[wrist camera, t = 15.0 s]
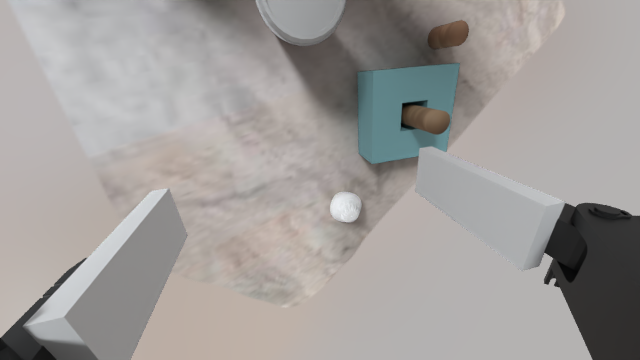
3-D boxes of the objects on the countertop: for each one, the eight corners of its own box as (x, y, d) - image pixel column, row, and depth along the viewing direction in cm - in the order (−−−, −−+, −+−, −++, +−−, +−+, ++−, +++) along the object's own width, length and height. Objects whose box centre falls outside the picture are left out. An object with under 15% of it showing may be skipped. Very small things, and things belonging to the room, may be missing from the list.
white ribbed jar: (358, 203, 49) (372, 222, 43) (332, 216, 49) (342, 237, 42) (349, 179, 46) (363, 196, 40) (321, 193, 46) (330, 211, 40)
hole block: (357, 71, 38) (373, 71, 33) (433, 64, 41) (459, 63, 35) (358, 153, 44) (372, 164, 39) (425, 142, 47) (446, 151, 41)
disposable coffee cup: (311, 64, 36) (331, 59, 26) (248, 38, 33) (242, 20, 23) (331, -6, 33) (365, -45, 23) (265, -42, 30) (267, -106, 20)
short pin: (429, 27, 38) (451, 20, 34) (446, 26, 39) (470, 19, 34) (426, 49, 40) (448, 46, 35) (443, 48, 40) (466, 44, 36)
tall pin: (387, 102, 42) (430, 112, 31) (403, 100, 42) (451, 109, 31) (386, 121, 43) (427, 136, 32) (402, 118, 44) (448, 132, 33)
